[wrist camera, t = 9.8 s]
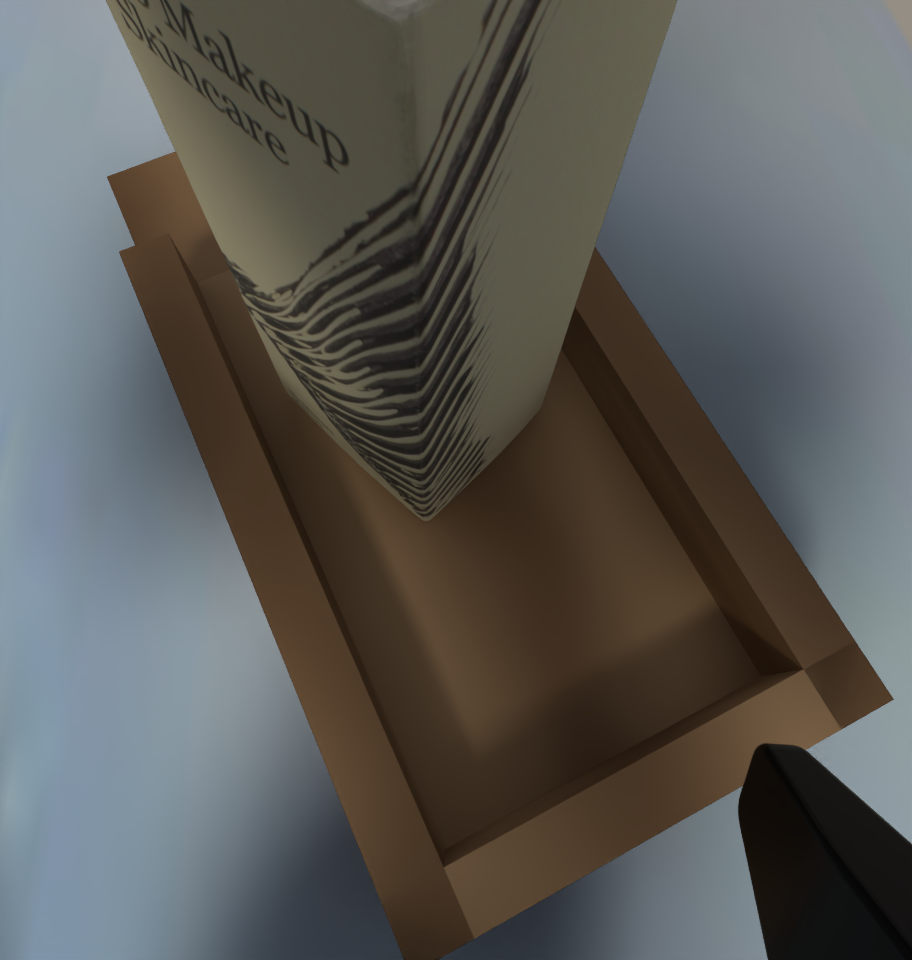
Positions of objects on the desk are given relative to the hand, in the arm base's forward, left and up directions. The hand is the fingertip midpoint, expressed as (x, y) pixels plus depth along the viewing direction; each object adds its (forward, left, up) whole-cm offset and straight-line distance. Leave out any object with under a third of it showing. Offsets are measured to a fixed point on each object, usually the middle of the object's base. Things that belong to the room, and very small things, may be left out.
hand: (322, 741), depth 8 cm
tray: (+4, +7, -10) cm, 13 cm away
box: (+4, +7, -8) cm, 11 cm away
